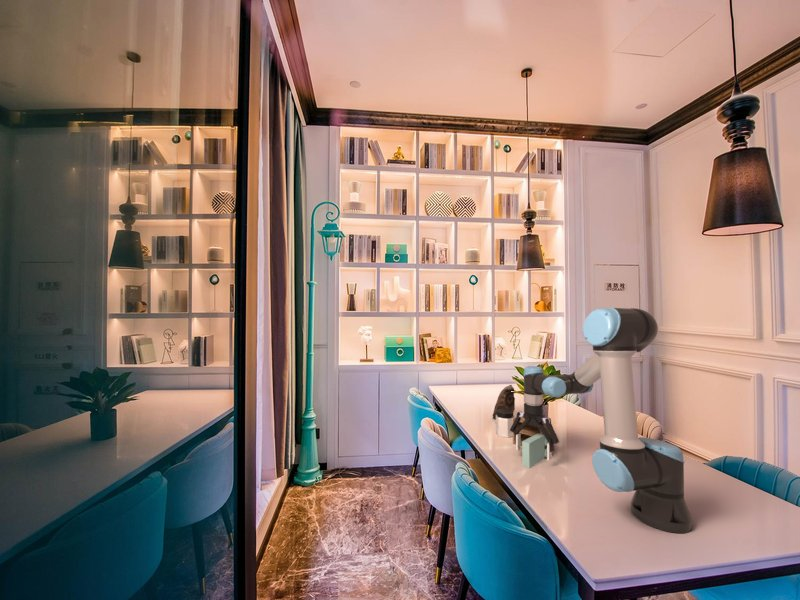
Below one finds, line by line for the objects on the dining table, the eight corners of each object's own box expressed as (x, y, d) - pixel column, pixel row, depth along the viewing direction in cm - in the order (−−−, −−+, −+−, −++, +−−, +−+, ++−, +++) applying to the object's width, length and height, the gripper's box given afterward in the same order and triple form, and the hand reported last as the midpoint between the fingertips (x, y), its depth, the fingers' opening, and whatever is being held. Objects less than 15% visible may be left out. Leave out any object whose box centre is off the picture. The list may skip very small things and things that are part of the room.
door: (540, 452, 156) (540, 430, 157) (551, 456, 153) (551, 433, 153) (520, 465, 143) (520, 440, 144) (531, 469, 140) (531, 444, 140)
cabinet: (541, 452, 156) (541, 425, 157) (513, 443, 167) (513, 418, 167) (551, 446, 163) (551, 420, 164) (523, 438, 174) (523, 414, 174)
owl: (511, 417, 209) (511, 383, 210) (522, 423, 197) (522, 388, 197) (491, 418, 206) (491, 384, 207) (502, 425, 194) (502, 388, 195)
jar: (515, 438, 174) (515, 413, 175) (499, 438, 174) (499, 413, 174) (509, 431, 183) (509, 408, 184) (494, 431, 183) (494, 408, 183)
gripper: (567, 407, 141) (567, 461, 140) (510, 396, 159) (510, 443, 158) (559, 411, 136) (560, 466, 135) (502, 399, 154) (502, 447, 153)
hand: (533, 454), depth 147 cm, fingers open, 13 cm apart
